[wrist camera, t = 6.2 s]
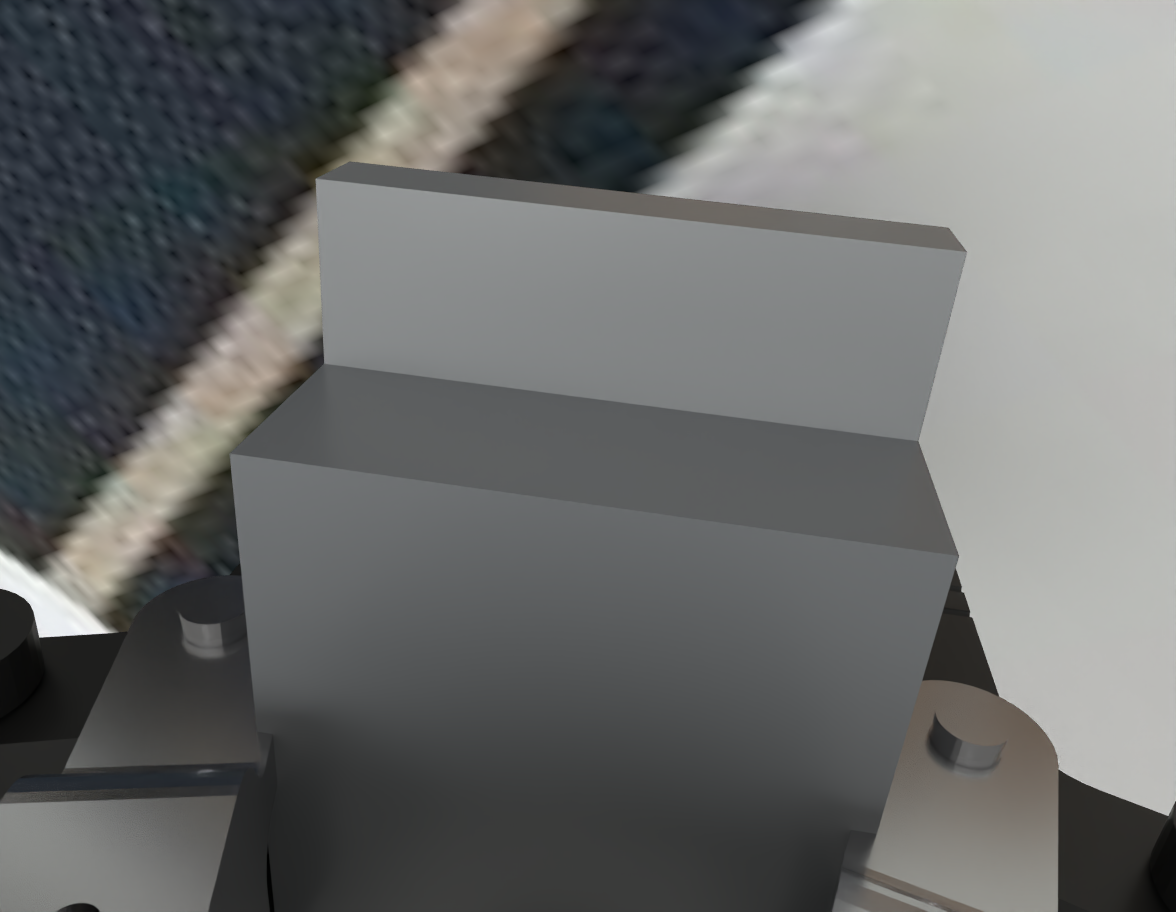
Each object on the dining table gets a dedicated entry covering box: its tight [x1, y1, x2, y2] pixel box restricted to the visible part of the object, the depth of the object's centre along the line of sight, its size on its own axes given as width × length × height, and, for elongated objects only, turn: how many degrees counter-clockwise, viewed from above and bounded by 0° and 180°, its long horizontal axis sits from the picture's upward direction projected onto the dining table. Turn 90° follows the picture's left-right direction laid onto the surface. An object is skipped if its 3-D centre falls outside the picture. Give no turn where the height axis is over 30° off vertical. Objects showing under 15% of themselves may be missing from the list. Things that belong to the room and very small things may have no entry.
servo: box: [230, 162, 967, 912], centre depth 9 cm, size 4×9×7 cm, turn 175°
